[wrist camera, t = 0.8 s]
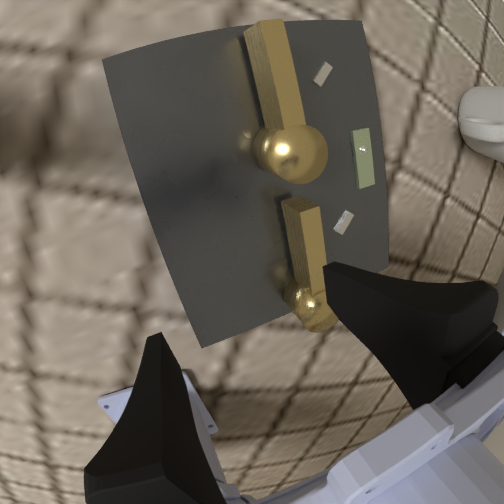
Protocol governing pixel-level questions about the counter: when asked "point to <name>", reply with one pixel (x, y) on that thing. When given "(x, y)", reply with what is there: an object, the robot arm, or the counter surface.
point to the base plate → (249, 165)
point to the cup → (483, 120)
